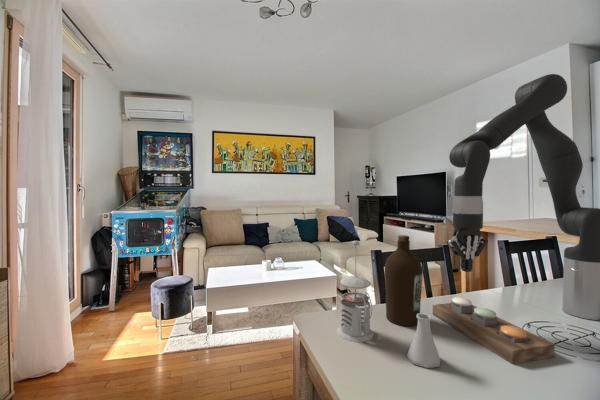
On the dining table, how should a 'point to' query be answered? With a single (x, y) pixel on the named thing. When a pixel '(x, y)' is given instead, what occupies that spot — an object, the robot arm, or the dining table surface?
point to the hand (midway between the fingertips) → (466, 271)
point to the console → (496, 336)
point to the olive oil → (403, 284)
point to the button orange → (513, 334)
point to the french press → (355, 309)
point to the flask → (423, 344)
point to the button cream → (461, 305)
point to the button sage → (485, 317)
